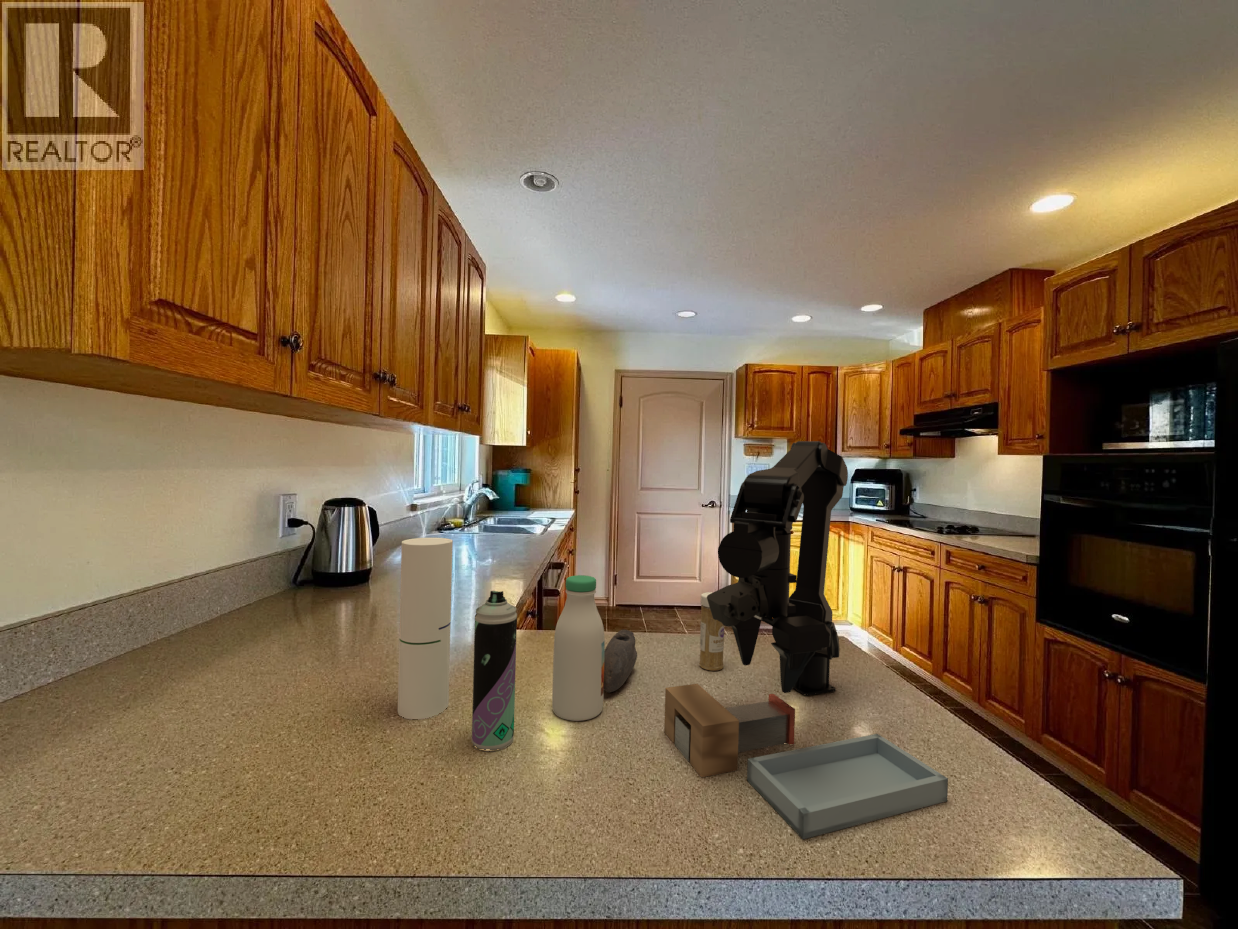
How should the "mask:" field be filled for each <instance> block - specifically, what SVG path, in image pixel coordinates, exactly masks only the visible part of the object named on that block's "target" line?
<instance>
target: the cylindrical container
mask: <svg viewBox="0 0 1238 929" xmlns="http://www.w3.org/2000/svg"><path fill="white" fill-rule="evenodd" d="M400 551H401V555H400V557H401V558H400V562H401V563H400V594H399V596H400V598H399V599H400V600H399V604H400V605H399V638H398V678H397V680H398V681H397V690H398V691H397V714H398V715H399V717H401V716H402V717H401V718H403V717H404V718H403V719H405V720H406V719H407V720H412V719H418V720H426V719H430V718H433V717H432V716H434V715H437V716H439V715H440V714H439V713H441V712H442V713H444V712H445V711H446V710H447V709H448V708H449V705H448V704H449V703H450V702H449V701H450V697H449V696H450V664H451V663H450V657H451V655H450V653H451V623H452V622H451V618H452V617H451V616H452V585H453V584H452V581H453V580H452V578H453V576H452V574H453V573H452V572H453V539H450V538H445V537H416V538H410V539H409V538H408V539H404V540H402V541H401V550H400ZM447 707H448V708H447ZM446 708H447V709H446ZM445 709H446V710H445ZM444 710H445V711H444ZM443 711H444V712H443ZM442 713H441V714H442ZM438 714H439V715H438ZM429 717H430V718H429ZM434 717H435V716H434ZM425 718H426V719H425Z"/></svg>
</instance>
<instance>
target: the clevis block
mask: <svg viewBox="0 0 1238 929" xmlns="http://www.w3.org/2000/svg"><path fill="white" fill-rule="evenodd" d="M664 694H665V699H664V726H663V728H664V729H663V730H664V731H663V732H664V733H665V734H666V736H667V737H668V738H669V740H670V741H671V742H672V744H675V719H676V716H677V715H682V716H683V717H684V718H685V719H686V721H687V722H688V723H689V724H690V725H691V744H690V762H689V764H690V765H691V766H692V768H693V769H694V770H695V771H696V773H697V774H698V775H699V776H700V777H701V778H705V777H710V776H715V775H722V774H725V773H726V774H727V773H730V772H736V771H738V768H739V767H738V766H739V765H738V764H739V762H738V760H739V753H738V735H739V720H738V719H737V718H736V717H735V716H733V715H732V714H731V713H730V712H729V711H728V710H727V709H726V708H727V707H725V706H723V705H722V704H721V703H720V702H719V701H718V700H717V699H715V698H714V697H713V696H712V695H711V694H710V693H709V692H708V691H707V690H705V689H704V688H703V687H702V686H701V685H700V684H698V683H693V684H683V685H676V686H669V687H665V693H664Z"/></svg>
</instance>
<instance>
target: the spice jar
mask: <svg viewBox="0 0 1238 929" xmlns="http://www.w3.org/2000/svg"><path fill="white" fill-rule="evenodd" d="M711 593H713V592H712V591H711V592H710V591H708V592H703V593H701V594H700V605H701V606H700V607H701V610H700V611H701V612H700V616H701V617H700V627H699V628H700V629H699V630H700V632H699V633H700V634H699V635H700V636H699V649H700V650H699V651H700V652H699V656H700V657H699V662H698V663H699V667H700V668H702V669H704V670H707V671H711V672H713V671H721V670H722V669H724V667H725V665H724V648H725V647H724V646H725V626H724V625H723V624H722V623H721V622H720V621H718V620H714V619H713V617H712V613H711V610H710V607H709V604H708V600H707V596H708V595H709V594H711Z"/></svg>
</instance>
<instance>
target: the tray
mask: <svg viewBox="0 0 1238 929" xmlns="http://www.w3.org/2000/svg"><path fill="white" fill-rule="evenodd" d="M746 774H747V776H746V781H747V782H748V784H750V785H751V786H752V787H753V788H754V789H755V790H756V792H757V793H759V795H760V796H761V797H762V798H763V799H764V800H765V801H766V802H767V803H768V804H769V806H771V808H773V809H774V811H775V812H776V813H777V814H778V815H779V816H780V817H781V818H782V819H783V821H785V822H786V823H787V824H788V825H789V826H790V827H791V829H793V831H794V832H795V833H796V834H797V835H798V836H799V837H800V838H801V839H802V840H807V839H810V838H814V837H817V836H822V835H825V834H829V833H832V832H836V831H840V830H843V829H847V828H850V827H855V826H858V825H859V826H860V825H862V824H866V823H869V822H874V821H878V820H881V819H885V818H888V817H893V816H896V815H901V814H904V813H907V812H911V811H916V810H918V809H922V808H926V807H930V806H934V805H938V804H941V803H945V802H946V803H947V802H948V792H949V791H948V789H949V788H948V787H949V778H948V777H947V776H945V775H943V774H942V773H940V772H939V771H937V770H935V769H934V768H933V767H930V766H929V765H928V764H926V763H924V762H923V761H921V760H920V759H918V758H917V757H915V756H913V755H912V754H911V753H909V752H907V751H906V750H904V749H902V748H901V747H899V746H898V745H897V744H894V742H891V741H890V740H888V739H886V738H885V737H883V736H882V735H880V734H879V733H873V734H869V735H865V736H859V737H853V738H847V739H842V740H837V741H833V742H828V743H822V744H816V745H812V746H808V747H806V746H805V747H801V748H796V749H792V750H786V751H781V752H777V753H776V752H775V753H771V754H765V755H760V756H756V757H755V756H754V757H750V758H747V771H746Z"/></svg>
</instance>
